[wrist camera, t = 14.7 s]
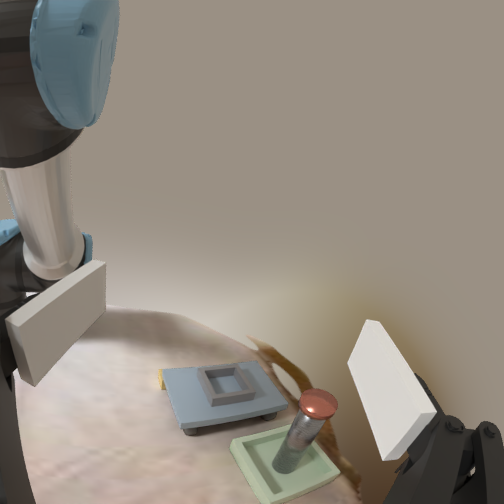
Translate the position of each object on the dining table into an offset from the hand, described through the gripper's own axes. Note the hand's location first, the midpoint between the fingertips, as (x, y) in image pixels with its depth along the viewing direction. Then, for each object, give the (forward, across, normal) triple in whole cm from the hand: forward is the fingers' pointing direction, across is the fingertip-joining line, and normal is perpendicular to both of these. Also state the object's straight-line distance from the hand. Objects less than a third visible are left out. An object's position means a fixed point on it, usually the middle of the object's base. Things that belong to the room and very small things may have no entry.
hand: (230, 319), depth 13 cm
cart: (+25, +1, -32) cm, 40 cm away
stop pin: (+12, +12, -31) cm, 35 cm away
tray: (+12, +12, -32) cm, 36 cm away
